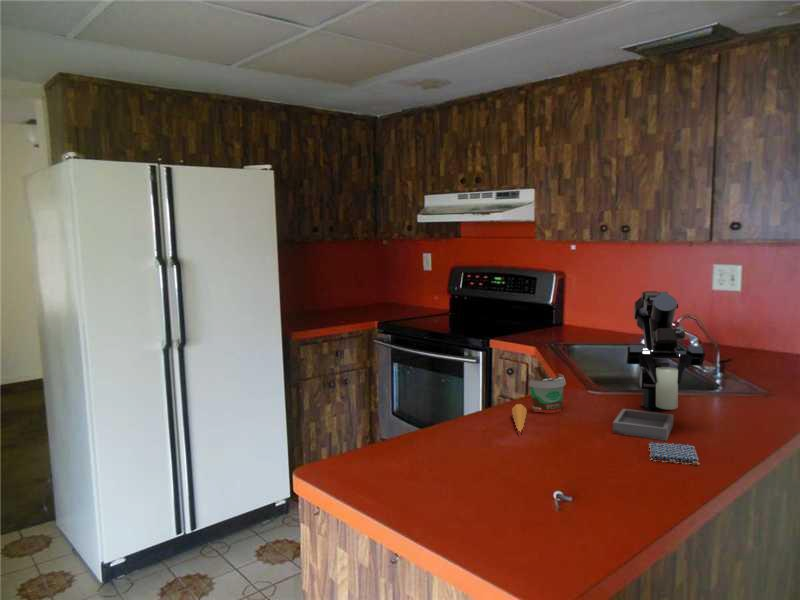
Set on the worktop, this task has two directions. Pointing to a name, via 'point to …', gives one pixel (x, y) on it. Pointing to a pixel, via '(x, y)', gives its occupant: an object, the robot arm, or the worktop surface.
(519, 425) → the carrot
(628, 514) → the worktop surface
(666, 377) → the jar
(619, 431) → the tray
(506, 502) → the worktop surface
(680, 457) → the woven mat
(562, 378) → the food container
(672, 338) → the robot arm
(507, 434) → the worktop surface
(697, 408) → the worktop surface
